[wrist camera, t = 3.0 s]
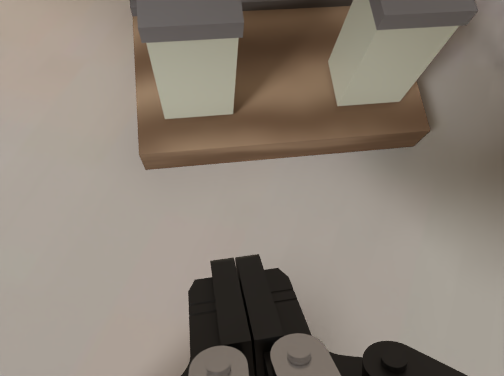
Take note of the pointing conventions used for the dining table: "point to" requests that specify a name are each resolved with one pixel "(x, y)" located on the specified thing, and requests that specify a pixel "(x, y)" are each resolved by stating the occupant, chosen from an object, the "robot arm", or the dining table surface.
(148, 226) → the dining table surface
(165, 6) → the marked plunger
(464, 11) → the plunger
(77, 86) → the dining table surface
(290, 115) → the button board
